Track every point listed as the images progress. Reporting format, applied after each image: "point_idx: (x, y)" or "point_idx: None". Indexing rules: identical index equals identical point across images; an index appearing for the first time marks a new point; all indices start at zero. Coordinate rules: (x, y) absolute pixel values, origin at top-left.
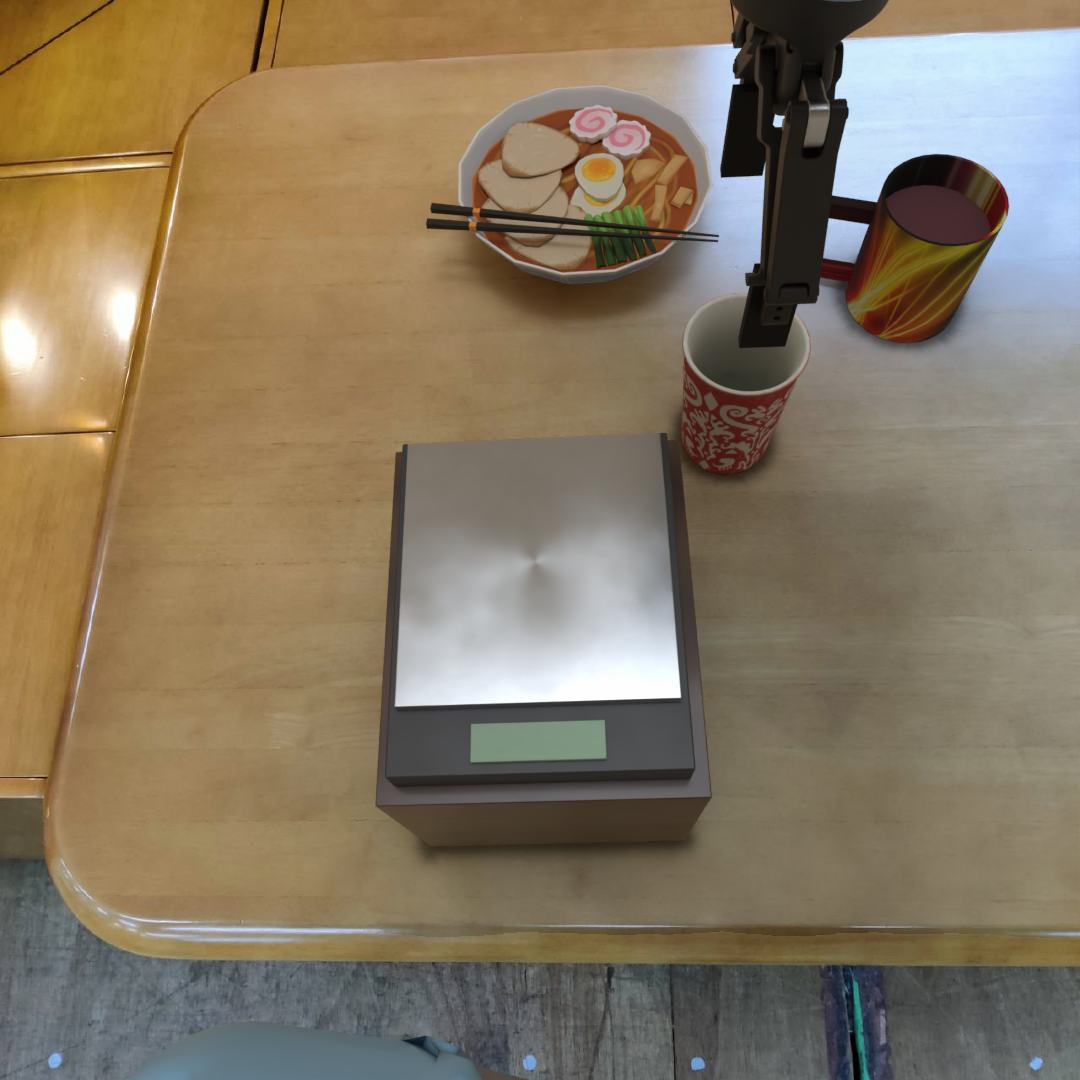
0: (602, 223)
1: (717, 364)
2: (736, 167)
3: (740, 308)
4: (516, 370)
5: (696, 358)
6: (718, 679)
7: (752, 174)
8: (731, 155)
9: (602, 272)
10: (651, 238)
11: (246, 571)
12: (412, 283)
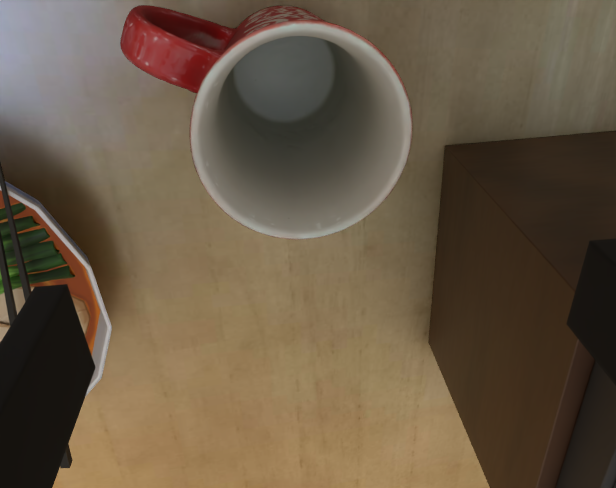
0: (7, 294)
1: (229, 116)
2: (76, 363)
3: (208, 139)
4: (202, 305)
5: (258, 170)
6: (602, 81)
7: (72, 310)
8: (69, 408)
9: (96, 283)
10: (15, 227)
11: (418, 459)
12: (100, 405)
